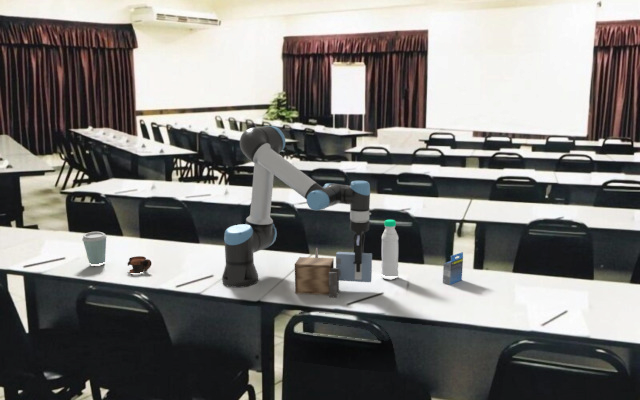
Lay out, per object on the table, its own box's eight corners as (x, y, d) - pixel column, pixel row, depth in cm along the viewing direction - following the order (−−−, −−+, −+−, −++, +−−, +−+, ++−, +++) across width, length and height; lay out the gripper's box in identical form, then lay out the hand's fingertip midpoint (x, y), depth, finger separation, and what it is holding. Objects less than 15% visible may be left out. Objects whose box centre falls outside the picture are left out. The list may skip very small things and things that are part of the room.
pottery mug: (123, 276, 270) (122, 258, 273) (136, 279, 279) (135, 262, 281) (146, 270, 267) (145, 252, 270) (158, 274, 275) (158, 256, 278)
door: (335, 280, 245) (336, 253, 243) (336, 277, 248) (337, 251, 246) (370, 282, 243) (371, 255, 240) (371, 279, 246) (372, 253, 243)
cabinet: (293, 296, 240) (293, 266, 237) (300, 285, 252) (299, 257, 250) (336, 297, 237) (336, 267, 235) (341, 286, 249) (340, 258, 247)
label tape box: (454, 278, 258) (455, 250, 256) (462, 280, 256) (463, 251, 253) (442, 283, 252) (443, 254, 250) (450, 285, 249) (451, 256, 247)
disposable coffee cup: (113, 263, 287) (111, 232, 285) (94, 269, 278) (91, 237, 276) (99, 260, 293) (96, 230, 290) (79, 266, 284) (76, 234, 281)
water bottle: (400, 276, 262) (400, 219, 257) (395, 281, 255) (395, 222, 251) (384, 274, 265) (384, 218, 260) (379, 279, 258) (379, 221, 254)
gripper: (367, 225, 232) (366, 284, 236) (370, 216, 247) (369, 272, 252) (347, 224, 233) (346, 283, 237) (352, 215, 248) (351, 271, 253)
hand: (358, 277), depth 245 cm, fingers closed on door, 3 cm apart
